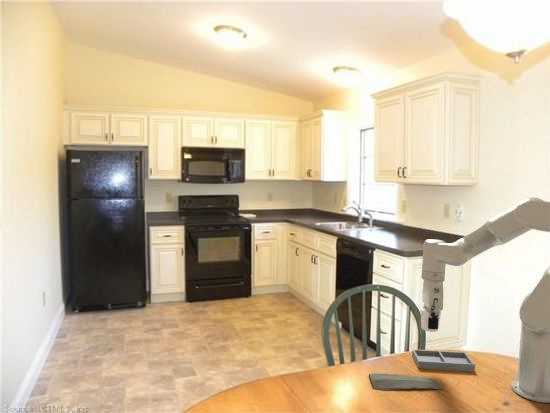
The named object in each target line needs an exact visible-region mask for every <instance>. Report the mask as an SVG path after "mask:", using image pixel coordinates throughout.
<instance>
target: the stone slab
mask: <svg viewBox="0 0 550 413" xmlns="http://www.w3.org/2000/svg"><path fill="white" fill-rule="evenodd" d="M368 379H369V380H370V382H371V385H372V388H373V389H374V390H377V391H395V390H415V389H416V390H419V389H421V390H424V389H430V390H435V389H436V390H444V389H445V387H444V386H443V385H442V384H441V382H439V381H437V380H436V379H433V378H430V377H428V376H427V377H426V376H420V375H419V376H418V375H407V374H396V373H395V374H393V373H379V372H376V373H369V374H368Z"/></svg>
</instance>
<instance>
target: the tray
mask: <svg viewBox="0 0 550 413" xmlns="http://www.w3.org/2000/svg"><path fill="white" fill-rule="evenodd" d="M411 351H412V352H411V355H412V358H413V361H414V362H415V365H416V367H417V369H421V370H422V369H425V370H439V371H440V370H443V371H459V372H473V373H474V372H475V370H476V364H475V362H474V361H473V359H471V358H470V356H469V355H468V354H467V352H466V351H451V350H449V351H447V350H434V349H433V350H431V349H416V348H414V349H412V350H411Z"/></svg>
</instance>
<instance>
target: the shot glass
mask: <svg viewBox="0 0 550 413" xmlns="http://www.w3.org/2000/svg"><path fill="white" fill-rule="evenodd" d="M431 309H434V307H431ZM439 311H440V312H439V320H438V329H428V318H429V317H430V314H429V309H428V308H427V307H426V306H425V307H423V306H421V307H420V328H421V329H422V330H423V331H425V332H429V333H431V332H432V333H435V332H438V331H439V326H440V321H441V314H442V310H440V309H439ZM433 312H434V311H432V313H433Z"/></svg>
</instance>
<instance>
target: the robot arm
mask: <svg viewBox="0 0 550 413" xmlns="http://www.w3.org/2000/svg"><path fill="white" fill-rule="evenodd" d="M531 230H536V231H539V232H545V233H550V201H545V200H543V199H541V198H539V197H528V198H526V199H524V200H522V201H520V202H519V203H517V204H515V205H513V206H512V207H510V208H509V209H506V210H505V211H503V212H501V213H499V214H498V215H496V216H494V217H492V218H491V219H489V220H488V221H486V222H485V223H483V225H481V226H480V227H479V228H477V229H476V230H474V231H472V232H470V233H469V234H467V235H465V236H463V237H461V238H460V239H459V238H458V240H456V241H454V242H452V243H447V242H446V241H445V240H443V239H442V240H440V239H435V238H433V239H432V238H430V239H428V238H427V239H425V240H424V242H423V245H422V246H423V250H422V263H421V265H422V266H421V280H423V281H422V283H423V284H422V291H421V292H422V295H421V296H422V302H423V306H422V307H425V306H426V307H427V308H428V309H429V314H430V317H429V318H428V329H438V330H439V328H438V320H439V312H440V311H439V309H440V310H441V311H443V309H444V281H446V280H445V279H446V278H445V277H446V265H450V266H452V267H462V266H463V265H465V264H466V263H467V262H468V261H470V260H471V259H474V258H475V257H477V256H479V255H480V254H482V253H484V252H486V251H488V250H490V249H493V248H495V247H497V246H498V247H499V246H503V245H504V244H506V243H509V242H511V241H512V240H514V239H516V238H518V237H520V236H522V235H524V234H525V233H527V232H529V231H531ZM431 307H434V309H431ZM432 311H434V312H433V313H432ZM518 312H519V313H518V314H519V319H520V321H521V327H520V337H519V338H520V339H519V351H518V352H519V353H518V364H517V366H518V367H517V378H515V379H513V380H512V381H511V389H512V391H513V392H514V393H516V394H518V395H519V396H520V397H523V398H525V399H527V400H531V401H533V402H538V403H545V404H547V403H548V404H550V266H549V267H547V269H546V270H545V271H544V273H543V275H542V276H541V278H540V280H539V281H538V283H537V284H536V286H535V287H534V289H533V290H532V291H531V292H529V293H528V294H527V295H525V297H524V299H523V300H522V302H521V305H520V308H519V311H518Z"/></svg>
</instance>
